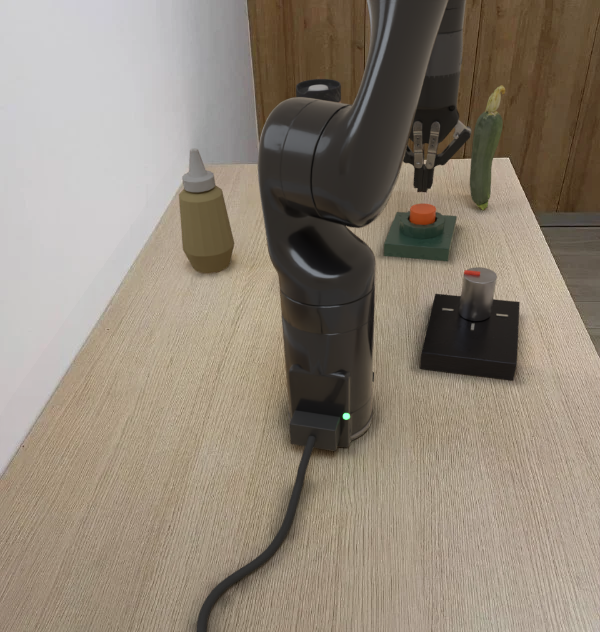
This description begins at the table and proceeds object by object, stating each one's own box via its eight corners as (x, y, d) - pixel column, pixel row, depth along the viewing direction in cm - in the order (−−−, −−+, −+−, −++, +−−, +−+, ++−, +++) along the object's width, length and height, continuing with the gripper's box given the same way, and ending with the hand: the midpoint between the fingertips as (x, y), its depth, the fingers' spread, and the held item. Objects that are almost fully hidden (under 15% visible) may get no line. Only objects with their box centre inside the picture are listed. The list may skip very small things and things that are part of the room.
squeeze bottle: (243, 271, 99) (229, 153, 88) (193, 282, 97) (172, 163, 86) (228, 249, 105) (213, 136, 94) (180, 260, 103) (159, 146, 92)
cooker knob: (491, 306, 83) (498, 266, 80) (489, 323, 80) (496, 282, 77) (460, 303, 84) (465, 263, 81) (457, 319, 81) (462, 278, 78)
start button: (433, 227, 100) (434, 214, 98) (407, 225, 101) (408, 212, 99) (436, 216, 103) (437, 204, 101) (411, 214, 104) (412, 202, 102)
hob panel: (513, 381, 75) (517, 362, 74) (419, 369, 78) (421, 351, 76) (516, 317, 86) (520, 300, 84) (433, 308, 88) (435, 291, 87)
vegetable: (463, 211, 112) (478, 88, 99) (466, 201, 115) (480, 81, 102) (489, 213, 111) (507, 89, 98) (491, 203, 114) (509, 81, 101)
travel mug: (343, 193, 121) (342, 78, 108) (341, 210, 115) (340, 90, 102) (302, 193, 122) (297, 79, 109) (298, 210, 116) (292, 91, 103)
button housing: (447, 261, 98) (450, 237, 96) (383, 256, 101) (384, 232, 98) (455, 228, 107) (458, 205, 105) (396, 223, 109) (397, 201, 107)
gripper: (379, 72, 86) (375, 197, 97) (480, 74, 83) (464, 203, 94) (389, 59, 92) (384, 179, 103) (484, 61, 89) (468, 184, 100)
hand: (422, 190), depth 98 cm, fingers closed
